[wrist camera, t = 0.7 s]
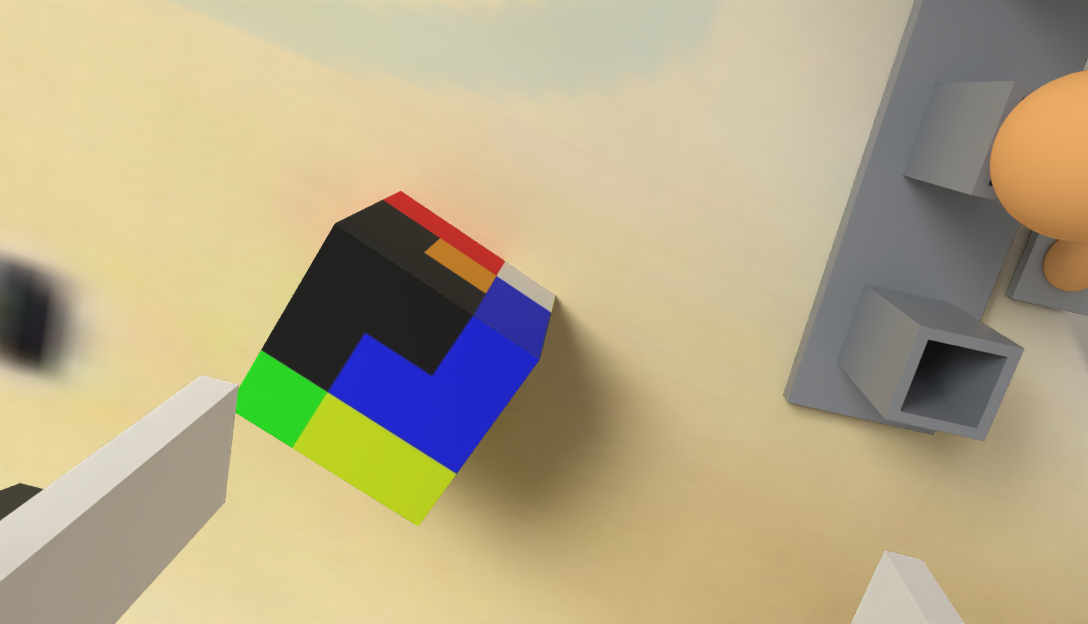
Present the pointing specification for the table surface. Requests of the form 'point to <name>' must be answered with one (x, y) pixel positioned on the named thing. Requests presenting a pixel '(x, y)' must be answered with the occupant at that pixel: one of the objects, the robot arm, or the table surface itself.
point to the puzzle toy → (397, 353)
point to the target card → (1052, 274)
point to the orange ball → (1046, 160)
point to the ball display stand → (932, 223)
